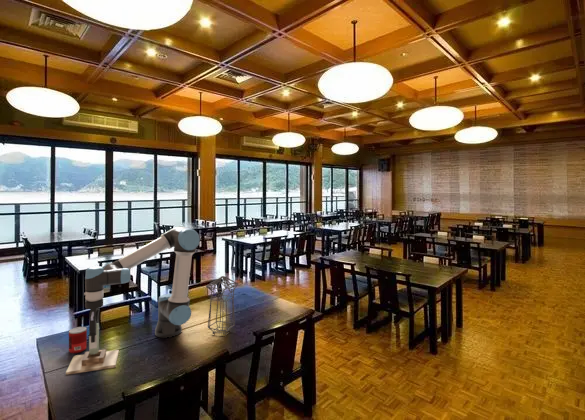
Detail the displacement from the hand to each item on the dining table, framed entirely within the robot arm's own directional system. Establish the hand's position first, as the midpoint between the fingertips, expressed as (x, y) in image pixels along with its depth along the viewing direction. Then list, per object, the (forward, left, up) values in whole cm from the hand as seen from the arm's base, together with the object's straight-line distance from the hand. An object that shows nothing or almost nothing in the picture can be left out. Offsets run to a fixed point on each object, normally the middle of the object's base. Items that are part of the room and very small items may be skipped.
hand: (94, 345), depth 161 cm
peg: (0, 0, -3) cm, 3 cm away
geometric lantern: (-65, -15, -9) cm, 67 cm away
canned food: (+10, -17, -9) cm, 21 cm away
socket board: (0, 0, -8) cm, 8 cm away
